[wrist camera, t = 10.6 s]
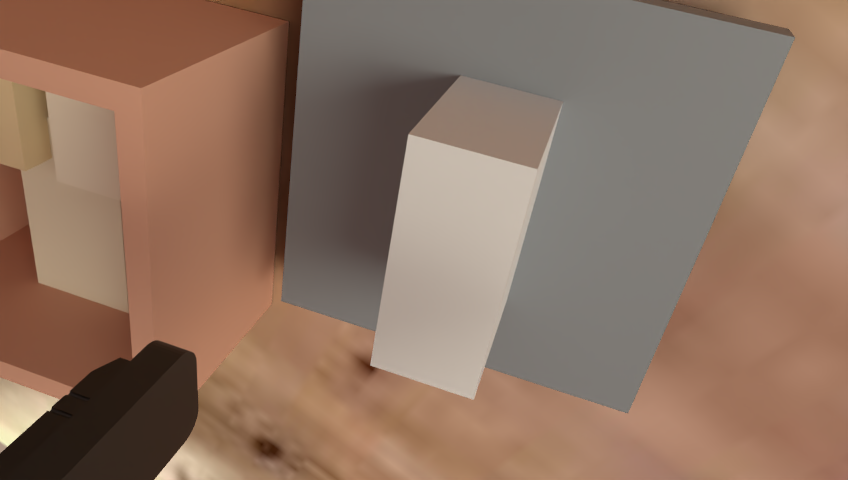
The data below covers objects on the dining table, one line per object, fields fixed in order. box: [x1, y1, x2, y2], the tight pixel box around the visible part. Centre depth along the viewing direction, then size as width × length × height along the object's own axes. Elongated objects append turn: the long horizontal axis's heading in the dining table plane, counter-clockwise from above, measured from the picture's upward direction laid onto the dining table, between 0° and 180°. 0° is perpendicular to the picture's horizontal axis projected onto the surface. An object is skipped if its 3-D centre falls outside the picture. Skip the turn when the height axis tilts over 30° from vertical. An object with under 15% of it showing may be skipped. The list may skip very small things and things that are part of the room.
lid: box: [281, 0, 795, 413], centre depth 20 cm, size 13×13×7 cm
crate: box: [0, 0, 289, 399], centre depth 24 cm, size 12×13×8 cm
